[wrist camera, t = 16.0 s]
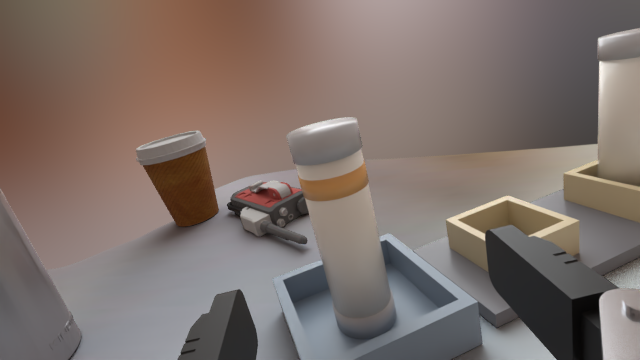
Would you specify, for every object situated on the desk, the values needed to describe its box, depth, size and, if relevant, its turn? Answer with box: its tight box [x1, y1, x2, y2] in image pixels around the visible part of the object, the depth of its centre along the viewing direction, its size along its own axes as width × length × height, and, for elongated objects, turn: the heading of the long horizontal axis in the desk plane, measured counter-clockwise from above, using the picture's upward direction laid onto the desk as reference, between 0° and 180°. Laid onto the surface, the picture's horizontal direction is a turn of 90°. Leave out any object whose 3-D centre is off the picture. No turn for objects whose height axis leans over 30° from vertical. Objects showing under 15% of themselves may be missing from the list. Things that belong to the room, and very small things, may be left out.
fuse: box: [597, 28, 640, 187], centre depth 27 cm, size 4×4×13 cm
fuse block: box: [412, 160, 640, 328], centre depth 27 cm, size 23×9×4 cm, turn 109°
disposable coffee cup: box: [136, 131, 219, 227], centre depth 51 cm, size 10×10×12 cm
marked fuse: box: [286, 117, 397, 339], centre depth 21 cm, size 4×4×13 cm
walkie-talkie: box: [227, 180, 309, 244], centre depth 44 cm, size 9×4×20 cm
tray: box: [272, 233, 482, 360], centre depth 23 cm, size 10×10×3 cm
